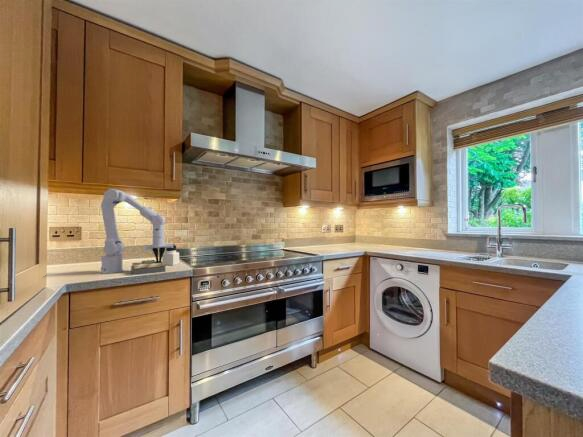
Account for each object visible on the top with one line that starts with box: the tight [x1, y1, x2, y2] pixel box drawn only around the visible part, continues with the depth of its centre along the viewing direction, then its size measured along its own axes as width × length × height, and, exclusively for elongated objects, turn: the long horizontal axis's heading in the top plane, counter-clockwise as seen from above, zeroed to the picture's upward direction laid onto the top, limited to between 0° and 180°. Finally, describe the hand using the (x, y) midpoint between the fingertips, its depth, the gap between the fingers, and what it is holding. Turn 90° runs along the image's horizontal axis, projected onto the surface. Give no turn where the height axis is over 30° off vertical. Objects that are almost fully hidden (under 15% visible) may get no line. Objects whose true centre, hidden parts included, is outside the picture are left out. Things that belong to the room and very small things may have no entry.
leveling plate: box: [131, 259, 165, 269], centre depth 140 cm, size 14×12×3 cm
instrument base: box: [130, 265, 166, 276], centre depth 140 cm, size 15×13×3 cm
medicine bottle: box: [161, 244, 180, 266], centre depth 160 cm, size 7×7×12 cm
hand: (158, 261), depth 143 cm, fingers closed, pressing on leveling plate
